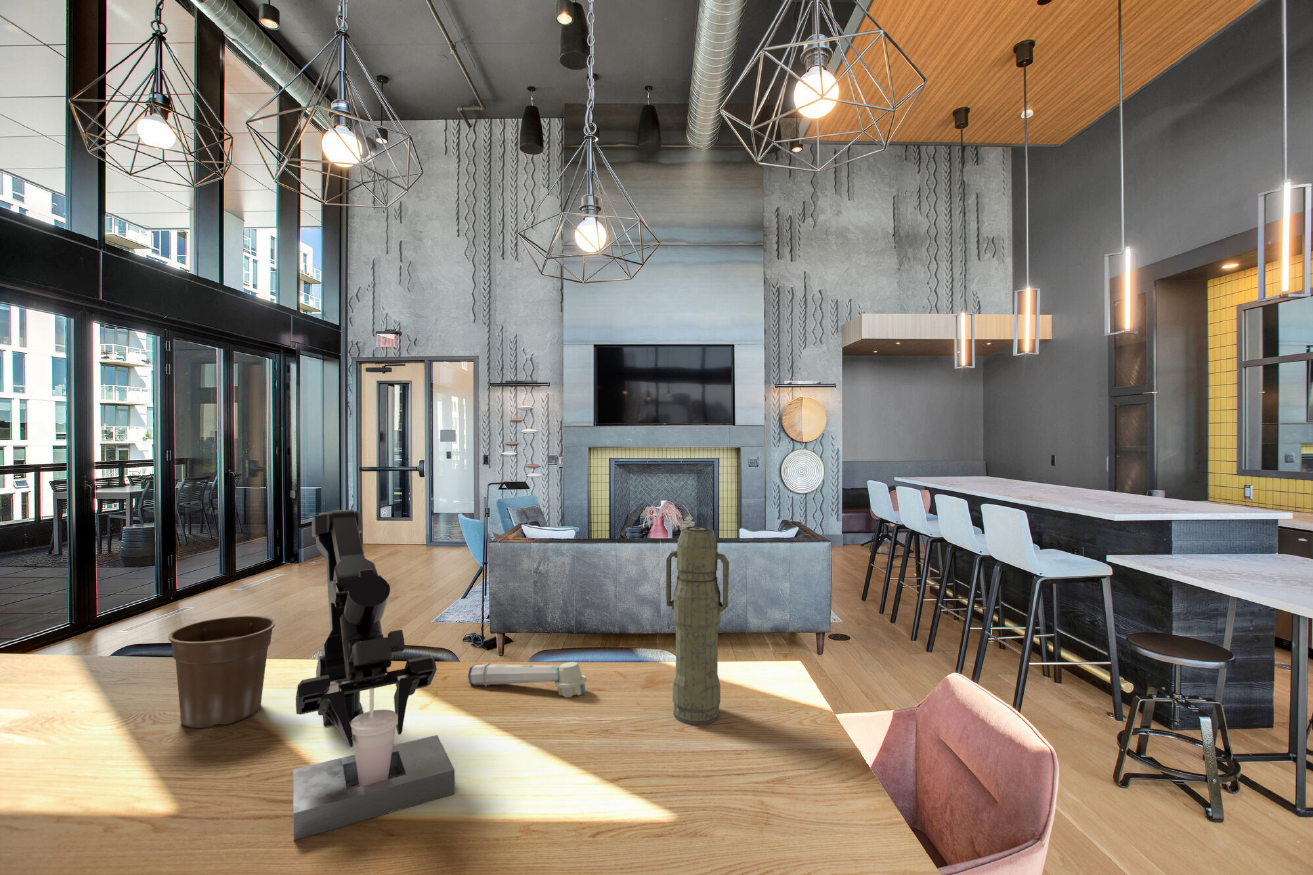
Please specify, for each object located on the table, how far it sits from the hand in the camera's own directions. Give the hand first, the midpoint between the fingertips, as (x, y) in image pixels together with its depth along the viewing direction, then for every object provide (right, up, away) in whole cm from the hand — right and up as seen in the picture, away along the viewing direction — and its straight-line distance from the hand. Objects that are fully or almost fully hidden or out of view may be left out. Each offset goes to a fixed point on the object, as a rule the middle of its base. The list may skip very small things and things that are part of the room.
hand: (375, 739), depth 87 cm
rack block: (-1, -8, +1) cm, 8 cm away
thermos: (+48, -9, +27) cm, 56 cm away
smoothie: (-1, -7, +1) cm, 7 cm away
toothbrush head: (+14, -9, +38) cm, 42 cm away
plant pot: (-40, -8, +26) cm, 49 cm away
